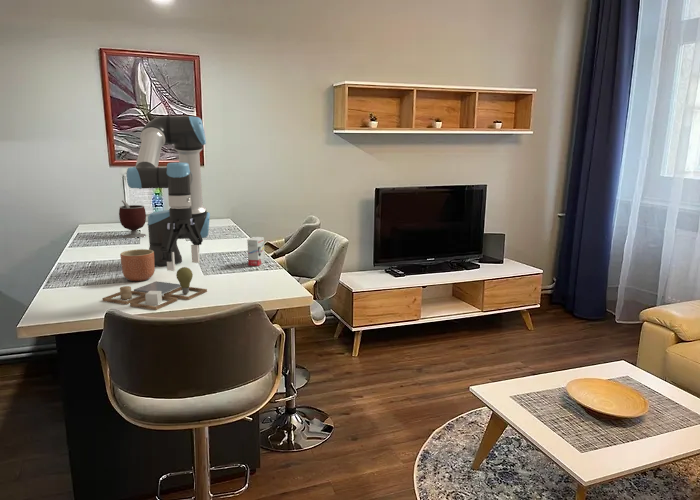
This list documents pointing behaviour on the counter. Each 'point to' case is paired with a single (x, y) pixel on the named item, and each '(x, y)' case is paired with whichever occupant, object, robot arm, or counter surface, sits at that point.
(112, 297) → the wooden square frame
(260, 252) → the ink box
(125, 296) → the cork stub
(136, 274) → the planter
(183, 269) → the light bulb
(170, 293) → the brown square outline
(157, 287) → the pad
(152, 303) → the grey cube
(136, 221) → the mate gourd
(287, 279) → the counter surface
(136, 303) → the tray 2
